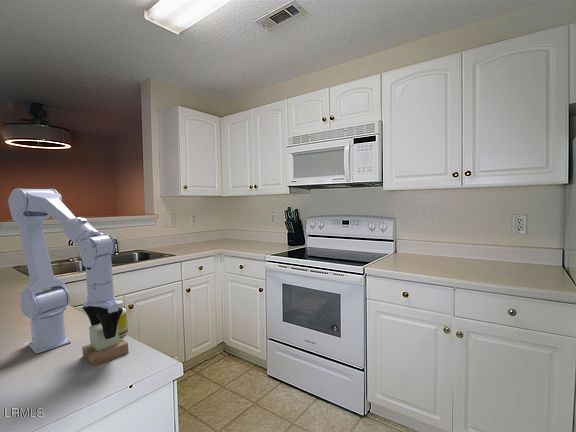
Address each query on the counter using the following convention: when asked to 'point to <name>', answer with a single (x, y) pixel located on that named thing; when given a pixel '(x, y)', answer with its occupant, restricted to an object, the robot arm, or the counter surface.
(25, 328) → the counter surface
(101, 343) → the sage cube
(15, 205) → the robot arm
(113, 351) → the walnut block
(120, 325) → the supplement bottle
